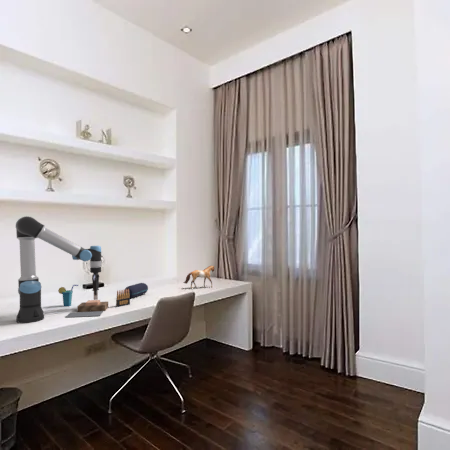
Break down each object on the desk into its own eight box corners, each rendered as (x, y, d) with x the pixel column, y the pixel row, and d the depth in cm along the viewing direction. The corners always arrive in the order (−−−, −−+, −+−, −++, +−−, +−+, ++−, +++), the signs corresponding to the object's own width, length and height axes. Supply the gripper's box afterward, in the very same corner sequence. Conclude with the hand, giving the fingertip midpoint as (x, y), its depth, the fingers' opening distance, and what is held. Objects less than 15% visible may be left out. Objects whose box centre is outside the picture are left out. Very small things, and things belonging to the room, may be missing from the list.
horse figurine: (214, 286, 331) (214, 265, 332) (217, 287, 324) (216, 266, 324) (183, 288, 321) (183, 266, 321) (185, 289, 314) (184, 267, 314)
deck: (77, 312, 231) (77, 306, 231) (82, 308, 242) (82, 302, 242) (105, 310, 233) (105, 305, 234) (108, 307, 245) (108, 301, 245)
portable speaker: (139, 293, 298) (139, 281, 299) (149, 293, 295) (149, 282, 295) (121, 298, 275) (121, 286, 275) (132, 299, 272) (132, 287, 272)
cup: (76, 303, 259) (76, 283, 259) (80, 304, 253) (80, 284, 254) (56, 306, 249) (56, 285, 249) (60, 307, 244) (60, 287, 244)
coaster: (85, 305, 232) (85, 302, 232) (88, 303, 240) (88, 300, 240) (97, 305, 234) (97, 302, 234) (100, 302, 242) (100, 299, 242)
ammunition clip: (128, 304, 255) (128, 288, 255) (130, 304, 253) (130, 288, 254) (115, 306, 246) (115, 290, 247) (117, 307, 245) (117, 290, 245)
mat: (65, 317, 216) (65, 317, 216) (70, 313, 228) (70, 312, 228) (99, 316, 220) (99, 315, 220) (103, 311, 231) (103, 311, 231)
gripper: (99, 267, 241) (99, 301, 240) (102, 265, 254) (102, 297, 253) (88, 268, 240) (88, 301, 239) (92, 266, 252) (92, 297, 252)
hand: (95, 299), depth 246 cm, fingers closed
